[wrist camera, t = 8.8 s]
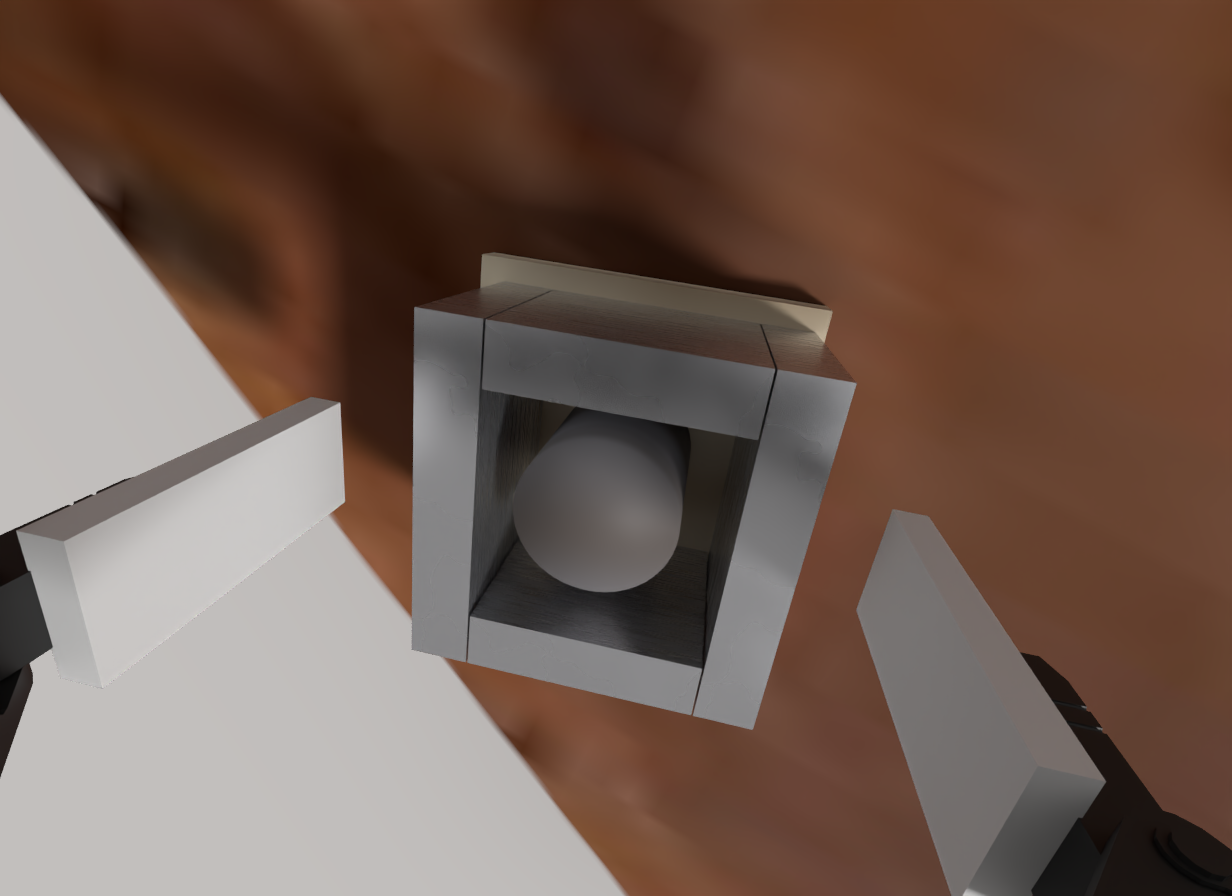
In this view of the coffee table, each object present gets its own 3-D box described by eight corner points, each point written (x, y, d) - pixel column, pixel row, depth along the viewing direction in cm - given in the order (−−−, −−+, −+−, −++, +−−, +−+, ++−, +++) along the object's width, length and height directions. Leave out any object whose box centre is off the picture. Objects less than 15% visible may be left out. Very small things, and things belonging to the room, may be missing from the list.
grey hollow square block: (504, 281, 17) (414, 307, 12) (815, 332, 16) (856, 383, 11) (487, 544, 21) (412, 649, 16) (745, 599, 20) (752, 729, 15)
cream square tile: (494, 252, 18) (394, 267, 13) (826, 306, 17) (876, 347, 12) (478, 534, 22) (395, 641, 16) (749, 592, 21) (759, 727, 15)
